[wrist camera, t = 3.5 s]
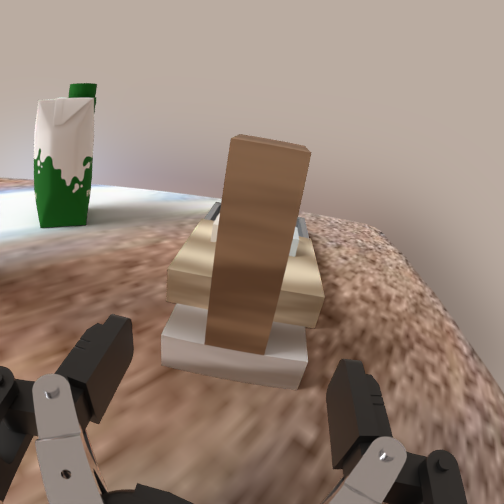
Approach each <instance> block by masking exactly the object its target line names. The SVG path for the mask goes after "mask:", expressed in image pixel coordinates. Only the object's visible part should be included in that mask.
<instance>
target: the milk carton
mask: <svg viewBox="0 0 504 504" xmlns="http://www.w3.org/2000/svg"><path fill="white" fill-rule="evenodd" d="M96 87H97V84H91V83H84V84H82V83H81V84H71V85H70V90H69V98H63V97H60V98H56V99H52V100H39V101H38V109H37V116H36V125H35V137H34V190H35V198H36V205H37V211H38V216H39V222H40V227H41V228H46V227H61V226H77V225H86V220H87V212H88V205H89V198H90V191H91V180H92V160H93V142H94V112H95V105H96V97H95V94H96Z"/></svg>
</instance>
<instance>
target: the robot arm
mask: <svg viewBox="0 0 504 504" xmlns="http://www.w3.org/2000/svg"><path fill="white" fill-rule="evenodd" d="M133 351H134V346H133V334H132V322H131V319H130V318H126V317H122V316H118V315H115V314H111V315H110V316H109V318H108V319H107V320H106V322H105V323H104V324H103V325H102V324H99V323H97V324H95V325H94V326H92V327H91V328H89V329H87V330H86V332H85V333H84V334H83V336H82V337H81V338H80V340H79V341H78V342H77V344H76V345H75V347H74V348H73V349H72V350H71V352H70V353H69V354H68V356H67V357H66V358H65V360H64V361H63V363H62V364H61V365H60V367H59V368H58V370H57V371H56V372H55V373H54V374H46V375H43V376H41V377H40V378H38V379H37V380H36V381H35V382H34V381H26V380H19V379H15V378H14V376H13V373H12V372H11V371H10V370H9V369H8V368H6V367H3V366H0V504H3V501H4V499H5V496H6V494H7V492H8V489H9V487H10V485H11V482H12V480H13V478H14V476H15V473H16V471H17V469H18V467H19V465H20V463H21V460H22V458H23V456H24V454H25V452H26V450H27V448H28V446H29V444H30V442H31V440H32V438H33V436H38V437H39V439H37V440H36V441H35V445H36V451H37V456H38V461H39V466H40V470H41V475H42V479H43V483H44V487H45V491H46V494H47V498H48V501H49V504H193V503H191V502H189V501H187V500H184V499H182V498H180V497H178V496H176V495H174V494H172V493H170V492H166V491H162V490H159V489H155V488H152V487H148V486H145V485H141V484H138V483H137V485H136V488H135V490H115V491H111V492H109V491H108V489H107V486H106V484H105V482H104V479H103V477H102V475H101V473H100V470H99V467H98V465H97V462H96V459H95V456H94V453H93V450H92V447H91V443H90V440H89V437H88V434H87V430H86V427H87V425H88V423H89V421H91V422H94V423H97V424H99V423H100V421H101V419H102V417H103V415H104V413H105V411H106V409H107V407H108V405H109V403H110V401H111V399H112V398H113V396H114V394H115V392H116V390H117V388H118V386H119V384H120V382H121V380H122V378H123V376H124V374H125V372H126V371H127V369H128V367H129V365H130V363H131V360H132V357H133ZM381 396H382V394H381V391H380V387H379V384H378V383H377V382H376V380H375V379H374V378H373V376H372V375H368V374H365V371H364V367H363V364H362V362H361V361H359V360H350V359H341V360H340V362H339V364H338V366H337V368H336V371H335V373H334V375H333V377H332V379H331V381H330V383H329V385H328V389H327V394H326V403H327V412H328V422H329V431H330V442H331V453H332V465H333V469H343V477H342V478H341V479H340V480H339V482H338V483H337V484H336V485H335V487H334V488H333V489H332V490H331V491H330V493H329V494H328V495H327V496H326V497H325V499H324V500H323V501H322V502H321V503H320V504H382V502H386V503H389V504H467V500H466V496H465V491H464V487H463V483H462V479H461V475H460V471H459V467H458V463H457V461H456V459H455V457H454V456H453V455H452V454H451V453H449V452H447V451H445V450H436V451H433V452H432V453H431V454H430V455H429V456H428V457H425V456H421V455H416V454H412V453H409V452H406V450H405V447H404V446H403V445H402V443H401V442H399V441H398V440H396V439H394V438H393V436H392V432H391V428H390V424H389V420H388V417H387V413H386V409H385V406H384V402H383V398H382V397H381Z"/></svg>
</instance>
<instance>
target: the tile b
mask: <svg viewBox="0 0 504 504" xmlns="http://www.w3.org/2000/svg"><path fill="white" fill-rule="evenodd" d="M298 243H299V236H298V229H297V227H295V231H294V236H293V240H292V244H291V249H290V253H289V256H293V257H295V255H296V251H297V247H298Z"/></svg>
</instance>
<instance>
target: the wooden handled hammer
mask: <svg viewBox="0 0 504 504" xmlns="http://www.w3.org/2000/svg"><path fill="white" fill-rule="evenodd" d="M310 156H311V152H310V151H309V150H308V149H307V148H306V147H305V146H302V145H297V144H293V143H288V142H282V141H277V140H271V139H266V138H260V137H254V136H248V135H242V134H240V135H238V136H235V137H233V138H231V142H230V148H229V154H228V161H227V168H226V174H225V182H224V188H223V195H222V202H221V209H220V217H219V224H218V232H217V239H216V247H215V255H214V263H213V271H212V279H211V288H210V297H209V305H208V310H207V309H202V308H197V307H193V306H188V305H183V304H178V303H177V304H176V306H175V308H174V310H173V312H172V314H171V316H170V318H169V320H168V322H167V324H166V326H165V328H164V330H163V332H162V334H161V363H162V366H166V367H170V368H174V369H179V370H183V371H187V372H192V373H197V374H201V375H206V376H211V377H216V378H221V379H227V380H232V381H238V382H244V383H250V384H256V385H262V386H269V387H276V388H284V389H291V390H297V389H298V386H299V384H300V381H301V379H302V376H303V374H304V371H305V369H306V366H307V363H308V355H307V344H306V333H305V327H304V326H298V325H291V324H285V323H279V322H273V319H274V315H275V311H276V307H277V303H278V299H279V295H280V291H281V287H282V283H283V278H284V274H285V270H286V266H287V262H288V257H289V253H290V249H291V244H292V240H293V236H294V231H295V227H296V222H297V218H298V213H299V209H300V204H301V199H302V195H303V190H304V186H305V181H306V176H307V171H308V167H309V162H310Z"/></svg>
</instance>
